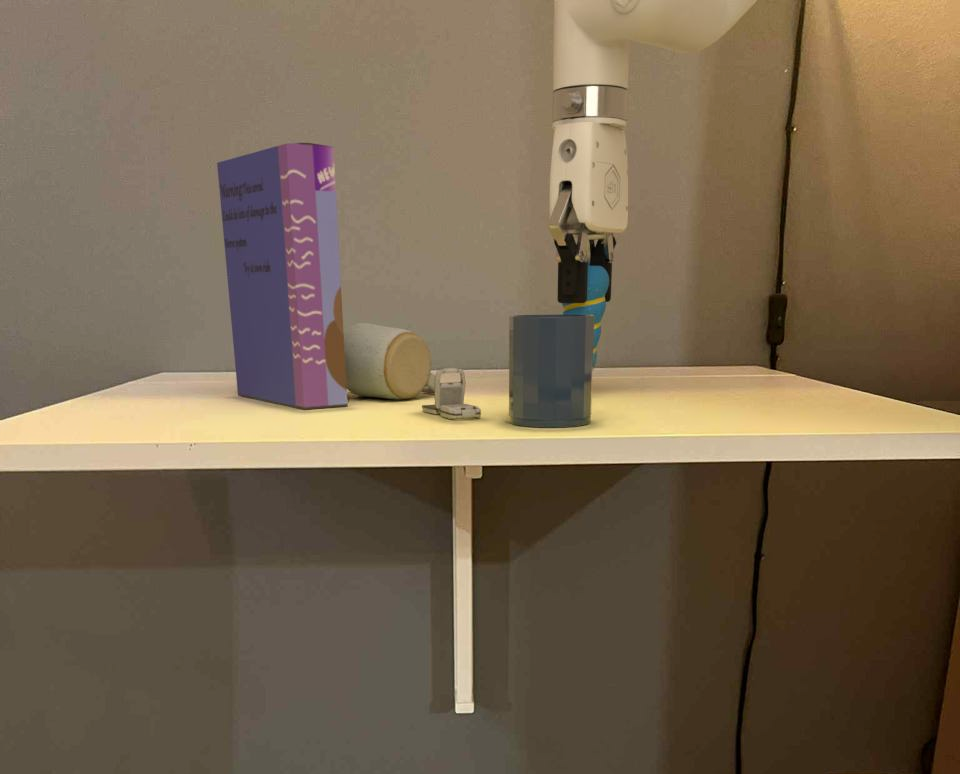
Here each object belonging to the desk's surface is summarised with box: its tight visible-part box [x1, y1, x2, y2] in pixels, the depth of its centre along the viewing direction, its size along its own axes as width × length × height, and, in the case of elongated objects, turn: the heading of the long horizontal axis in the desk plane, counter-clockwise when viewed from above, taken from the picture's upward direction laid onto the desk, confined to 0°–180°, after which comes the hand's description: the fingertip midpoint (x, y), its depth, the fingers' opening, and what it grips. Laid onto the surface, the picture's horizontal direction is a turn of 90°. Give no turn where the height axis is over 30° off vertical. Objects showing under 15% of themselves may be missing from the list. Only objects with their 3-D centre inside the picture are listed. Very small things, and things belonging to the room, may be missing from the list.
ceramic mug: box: [343, 322, 436, 401], centre depth 107 cm, size 11×8×8 cm
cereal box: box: [216, 142, 348, 411], centre depth 101 cm, size 17×5×24 cm, turn 35°
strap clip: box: [421, 367, 482, 420], centre depth 92 cm, size 8×3×4 cm, turn 25°
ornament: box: [561, 250, 609, 370], centre depth 106 cm, size 5×5×15 cm
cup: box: [508, 313, 594, 429], centre depth 86 cm, size 7×7×9 cm
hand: (584, 300), depth 106 cm, fingers closed on ornament, 5 cm apart
